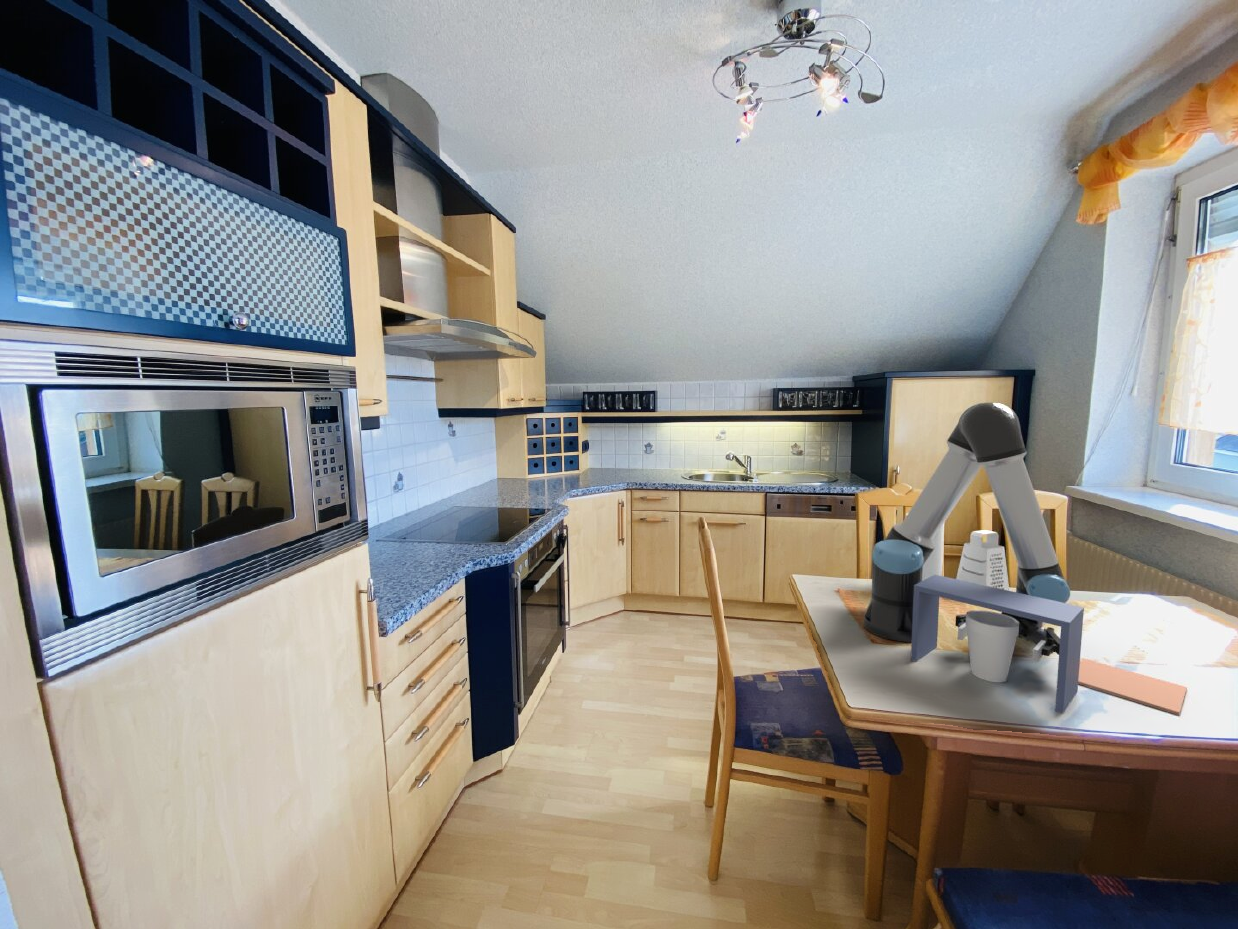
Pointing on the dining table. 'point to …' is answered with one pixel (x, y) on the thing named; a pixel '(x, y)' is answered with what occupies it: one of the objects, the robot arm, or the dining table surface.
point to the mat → (1132, 686)
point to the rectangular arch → (1003, 602)
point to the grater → (983, 561)
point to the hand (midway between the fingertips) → (995, 644)
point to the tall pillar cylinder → (934, 557)
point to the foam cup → (991, 643)
